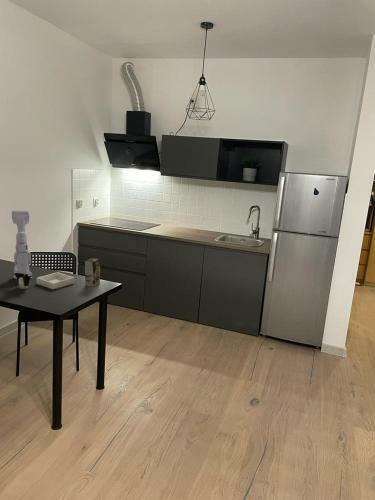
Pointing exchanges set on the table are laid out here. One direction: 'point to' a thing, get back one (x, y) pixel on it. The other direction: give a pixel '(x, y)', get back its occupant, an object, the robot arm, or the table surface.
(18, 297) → the table surface
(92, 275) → the coffee box
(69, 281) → the white bin
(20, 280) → the sage green capsule
